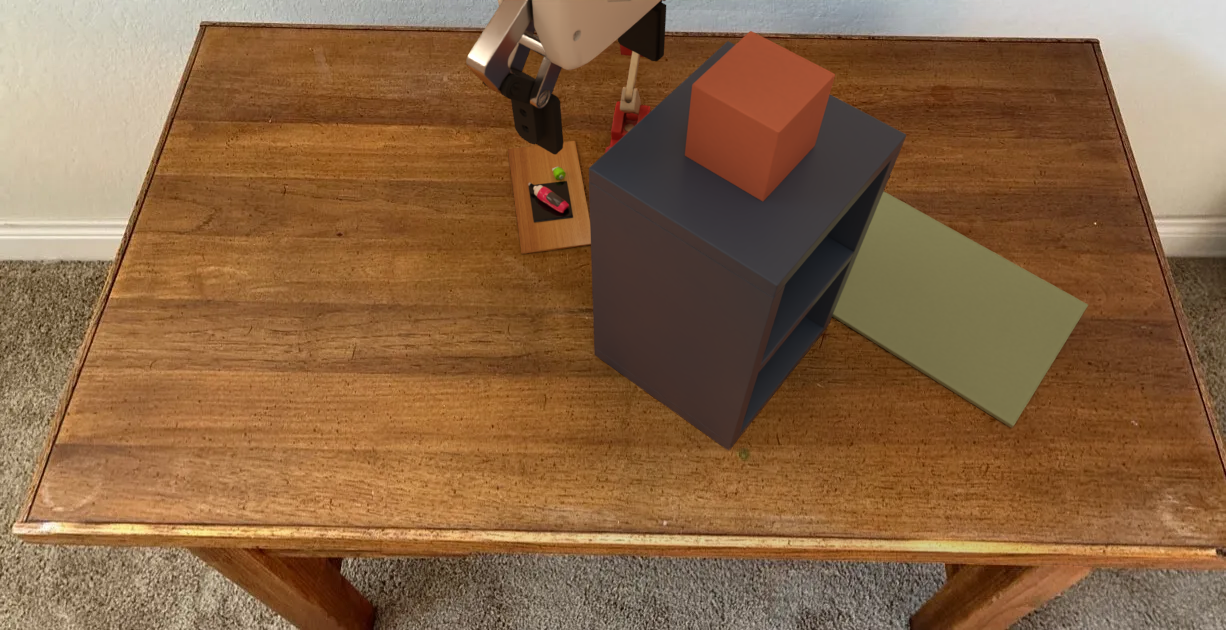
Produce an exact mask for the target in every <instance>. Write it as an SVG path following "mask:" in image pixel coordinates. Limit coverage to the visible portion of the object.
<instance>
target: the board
mask: <svg viewBox="0 0 1226 630" xmlns="http://www.w3.org/2000/svg"><path fill="white" fill-rule="evenodd" d="M507 155H508V161H509V169H510V176H511V184H512V192H513V199H514V207H515V214H516V222H517V229H518V236H519V237H518V238H519V245H520V246H519V247H520V252H521V255H525V254H533V253H534V254H535V253H540V252H549V251H557V250H563V249H571V248H572V249H573V248H579V247H588V246H591V231H590V212H589V208H588V207H589V206H588V203H587V197H586V192H585V191H586V190H585V186H584V180H583V176H582V171H581V166H580V165H581V164H580V161H579V155H578V149H577V143H576V141H575V140H570V141H563V148H562V150H560V151H559V152H558V153H557V154H552V153H550V152H549V151H547V150H545V149H544V148H542V147H540V146H539V145H537V144H535V145H530V146H529V145H528V146H521V147H520V146H519V147H512V148H507Z"/></svg>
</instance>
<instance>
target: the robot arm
mask: <svg viewBox="0 0 1226 630" xmlns="http://www.w3.org/2000/svg"><path fill="white" fill-rule="evenodd" d="M666 1H667V0H497V4H498V7H497V9H496V10H495V11H494V14H493V15H492V16H491V18H490V20H488V23H486V26H485V28H484V29H483V31H482V33H480V35H479V36H478V39H477V40H476V42H475V43H474V44H473V46H472V48H471V50H470V51H469V53H468V55H467V57H466V60H465V63H466V67H467V69H469V70H470V71H471V72H472V73H473V74H474V75H475V76H476V77H477V78H478V79H479V80H480V81H482V84H483V85H484V86H486V87H487V88H489V89H491V90H493V91H494V92H496V93H499V95H502V96H503V97H505V98H507V99H509V100H510V103H511V104H510V105H511V110H512V117H513V122H514V123H513V124H514V129H515V131H516V133H517V134H518V136H519V137H520V138H521V139H522V140H524V141H526V142H527V143H529V144H531V145H539V146H540V147H542V148H544V149H545V150H547V151H549V152H550V153H552V154H557V153H558V152H559V151H560V150H562V148H563V142H564V135H563V134H564V133H563V132H564V131H563V123H562V122H563V121H562V108H561V100H560V98H559V97H558V96H557V95H556V94H554V93H553V91H554V89H555V87H556V84H557V81H558V79H559V76H560V74H561V71H562V69H564V70H566V71H573V70H576V69H579V68H581V67H583V66H585V65H587V64H589V62H591V61H592V60H594V59H595V58H597V57H598V56H599V55H601V53H603V52H604V51H605V50H606V49H607V48H609V47H610V46H611V45H613V44H614V43H615V41H617V42H618V44H619V46H620V45H622V46H624V47H626V48H628V49H630V50H632V51H633V52H635V53H637V54H639V55H641V56H643V57H642V58H645V59H647V60H649V61H651V62H658V61H660V60H661V59H662V58H663V57H664V56H665V43H666V42H665V41H666V21H667V4H665V3H664V2H666ZM535 33H536V34H535ZM531 51H533V52H535V53H537V54H538V55H540V56H542V57H543V58H542V60H541V63H540V66H539V68H538V71H537V74H536V76H535V77H533V76H531V75H529V74H528V73H526V72H523V71H524V69H525V66H526V63H527V60H528V58H529V54H530V52H531Z"/></svg>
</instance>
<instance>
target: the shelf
mask: <svg viewBox="0 0 1226 630" xmlns="http://www.w3.org/2000/svg"><path fill="white" fill-rule="evenodd" d="M735 45H736V43H732V42H730V41H729V40H727V41H726V42H724V44H723V45H721V47H720V48H718V49H717V50H716V51H715V52H714V53H713V54H711V55H710V56H709V57H708V58H707V59H706V60H705V61H704V62H703V63H702V64H701V65H700V66H699V67H697V68H696V69H695V70H694V71H693V72H692V73H691V74H689V76H688V77H687V78H685V79H684V80H683V81H682V82H681V83H680V84H679V85H678V86H677V87H676V88H675V89H673V90H672V91H671V92H670V93H669V94H668V95H667V96H666V97H664V98H663V100H661V101H660V102H659V103H657V105H656V106H655V107H654V108H653V109H652V110H650V113H648V114H647V115H646V116H645V117H644V118H643V119H642V120H641V121H640V122H639V123H638V124H636V125H635V126H634V127H633V128H632V129H631V130H630V131H629V132H628V133H627V134H626V135H624V136H623V137H622V138H621V139H620V140H619V141H618V142H617V143H616V144H615V145H613V146H612V147H611V148H610V149H609V150H608V151H607V152H606V153H605V152H604V154H603V155H601V156H600V157H599V158H598V159H597V160H596V161H595V162H594V163H593V164H592V165H590V166H589V167H588V194H589V195H588V196H589V197H588V198H589V218H590V231H591V245H590V257H591V258H590V259H591V287H592V290H591V291H592V320H593V321H592V323H593V344H594V345H593V352H594V356H596V357H597V358H598V359H600V360H601V361H602V362H604V363H605V364H606V365H608V366H609V367H611V368H612V369H613V370H615V371H616V372H618V373H619V374H621V375H622V376H623V377H625V379H628V380H629V381H631V382H632V383H633V384H634V385H635V386H637V387H638V388H640V389H642V391H644V392H645V393H647V394H649V395H650V396H651V397H652V398H654V399H655V400H656V401H659V403H661V404H662V405H663V406H665V407H667V408H668V409H670V410H671V411H672V412H674V413H675V414H677V415H678V416H679V417H681V418H682V419H683V420H685V421H686V422H688V423H689V424H690V425H691V426H693V427H695V428H696V429H698V430H699V431H700V432H702V433H703V434H705V436H707V437H709V438H710V439H711V440H713V441H714V442H716V444H718V445H719V446H721V447H723V448H724V449H725V450H727V451H728V452H729V451H730V450H732V448H733V447H734V445H735V444H736V443H737V442H738V440H739V439H740V438H741V437H742V435H743V434H744V433H745V432H746V430H748V428H749V427H750V426H751V424H752V423H753V422H754V420H755V419H756V418H757V416H758V415H759V414H760V413H761V412H762V410H763V409H764V408H765V406H766V405H767V404H768V403H769V401H770V400H771V399H772V398H773V396H774V395H775V394H776V393H777V391H778V390H779V389H780V388H781V386H782V385H783V384H784V382H786V380H787V379H788V378H789V376H790V375H791V374H792V373H793V371H794V370H795V369H796V367H798V366H799V364H800V363H801V361H802V360H803V359H804V357H806V355H807V353H808V352H809V351H810V350H811V349H812V347H813V346H814V345H815V344H816V342H817V341H818V340H819V339H820V337H821V336H822V335H823V333H824V332H825V331H826V330H827V328H828V327H829V326H830V323H831V321H832V318H833V317H832V315H833V313H834V310H835V308H836V306H837V303H838V301H839V298H840V296H841V293H842V291H843V289H844V286H845V284H846V281H847V279H848V276H849V274H850V272H851V269H852V267H853V264H854V262H855V259H856V257H857V255H858V252H859V250H860V247H861V245H862V242H863V240H864V238H865V235H866V233H867V230H868V228H869V225H870V223H871V221H872V218H873V216H874V213H875V211H876V208H877V206H878V204H879V201H880V199H881V196H882V194H883V191H884V192H885V189H886V187H887V184H888V182H889V179H890V177H891V174H892V172H893V170H894V167H895V165H896V162H897V160H898V157H899V155H900V153H901V150H902V147H903V145H904V142H905V140H906V138H907V134H906V133H904V132H903V131H901V130H899V129H898V128H895V127H893V126H891V125H889V124H888V123H885V122H883V121H882V120H880V119H878V118H876V117H874V116H872V115H870V114H868V113H867V112H864V111H863V110H861V109H859V108H857V107H855V106H853V105H851V104H849V103H847V102H845V101H844V100H842V99H840V98H838V97H836V96H834V95H833V94H830V95H829V98H828V102H827V105H826V109H825V112H824V116H823V119H822V123H821V126H820V130H819V133H818V137H817V140H816V144H815V146H814V147H813V148H812V149H811V150H810V151H809V153H808V154H807V155H806V156H805V157H804V158H803V159H802V160H801V161H800V162H799V163H798V164H797V166H796V167H795V168H794V169H793V170H792V171H791V172H790V173H789V174H788V175H787V176H786V177H785V178H784V180H783V181H782V182H781V183H780V184H779V185H778V186H777V187H776V188H775V189H774V190H773V191H772V193H771V194H770V195H769V196H768V197H767V198H766V199H765V200H764V201H761V200H759V199H758V198H756V197H754V196H752V195H751V194H749V193H747V192H746V191H744V190H742V189H741V188H739V187H737V186H736V185H734V184H732V183H730V182H729V181H727V180H725V179H724V178H722V177H720V176H719V175H717V174H715V173H713V172H712V171H710V170H708V169H707V168H705V167H703V166H702V165H700V164H698V163H696V162H695V161H693V160H691V159H690V158H688V157H686V156H685V148H686V139H687V130H688V120H689V111H690V101H691V92H692V85H693V84H694V83H695V82H696V81H697V80H698V79H699V78H700V77H701V76H702V75H703V74H704V73H705V72H706V71H708V70H709V69H710V68H711V67H712V66H713V65H714V64H715V63H716V62H717V61H718V60H719V59H721V58H722V57H723V56H724V55H725V54H726V53H727V52H728V51H729V50H730V49H731V48H732V47H734V46H735Z"/></svg>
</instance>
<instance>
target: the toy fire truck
mask: <svg viewBox="0 0 1226 630" xmlns="http://www.w3.org/2000/svg"><path fill="white" fill-rule="evenodd" d="M619 50H620V52H619V53H620V55H621V56H626V57H627V56H629V57H630V62H629V69H628V76H627V80H626V86H623V87H622V89H621V97H620V101H618V100H617V101H616V103H615V107H614V112H613V118H612V122H611V123H612V124H611V128H610V129H611V130H610V141H609V146H607V147H605V151H604V154H605V153H606V152H607V151H608V150H609V149H610V148H611V147H612V146H613V145H615V144H616V143H617V142H618V141H619V140H620V139H621V138H622V137H623V136H624V135H626V134H627V133H628V132H629V131H630V130H631V129H632V128H633V127H634V126H635V125H636V124H638V123H639V122H640V121H641V120H642V119H643V118H644V117H645V116H646V115H647V114H648V113H650V112H651V106H650V105H646V104H642V101H641V97H640V93H639V89H638V88H637V87H636V84H637V77H638V71H639V64H640V58H644V57H643V56H641V55H639V54H637V53H635V52H633V51H632V50H630V49H628V48H626V47H624V46H622V45H620V44H619Z"/></svg>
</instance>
